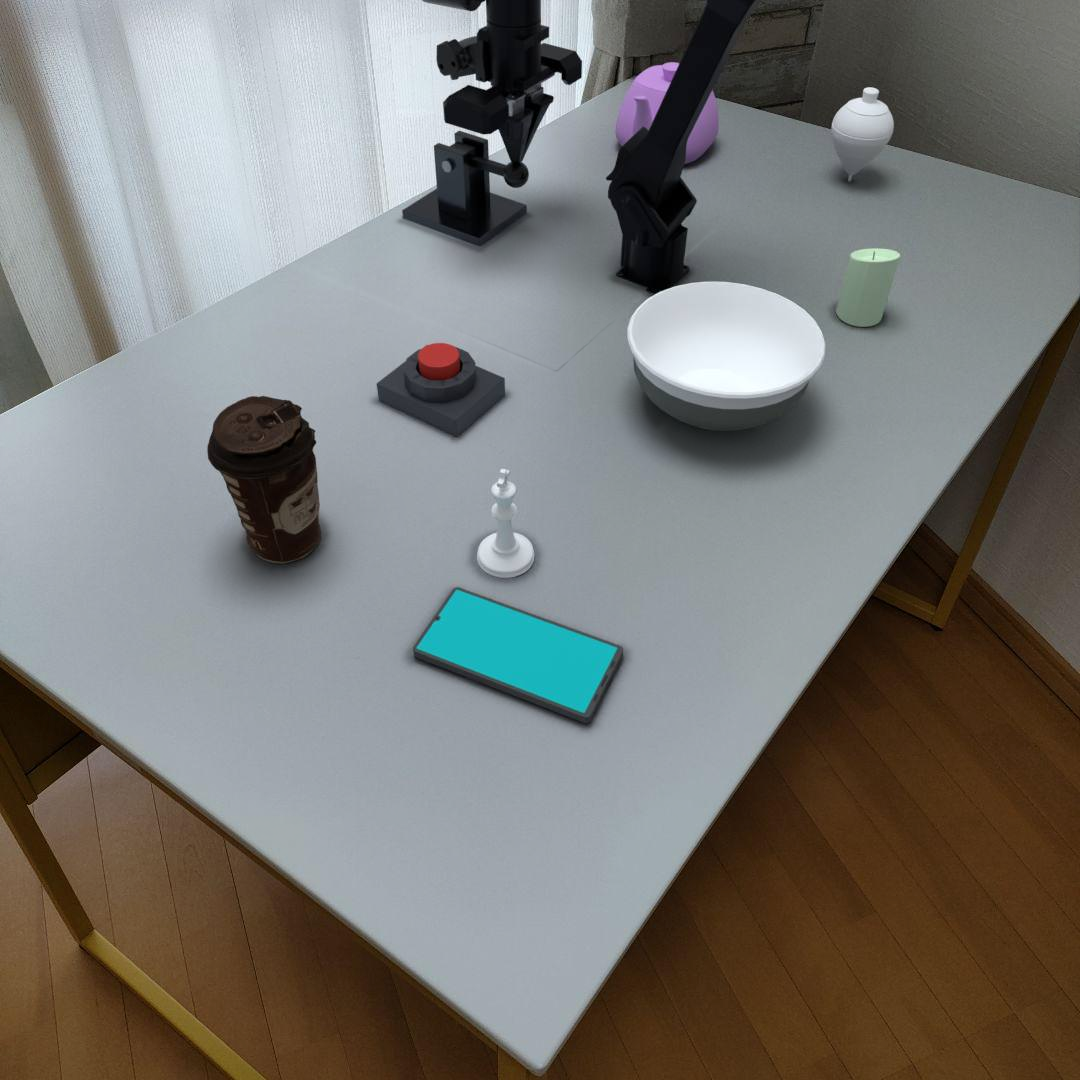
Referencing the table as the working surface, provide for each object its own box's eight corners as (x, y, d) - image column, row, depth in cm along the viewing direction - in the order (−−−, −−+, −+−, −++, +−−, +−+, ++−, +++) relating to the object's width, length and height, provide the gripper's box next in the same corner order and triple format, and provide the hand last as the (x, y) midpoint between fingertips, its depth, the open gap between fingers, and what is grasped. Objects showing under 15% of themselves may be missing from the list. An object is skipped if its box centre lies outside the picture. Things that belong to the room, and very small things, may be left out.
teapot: (586, 166, 135) (589, 83, 127) (651, 112, 147) (658, 32, 139) (676, 190, 130) (685, 105, 122) (735, 132, 142) (747, 51, 134)
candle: (827, 306, 112) (843, 240, 106) (866, 299, 113) (884, 233, 107) (850, 331, 109) (868, 264, 103) (890, 323, 110) (910, 256, 104)
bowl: (830, 460, 94) (851, 391, 88) (634, 469, 93) (641, 399, 87) (783, 344, 107) (798, 277, 101) (611, 350, 106) (616, 283, 100)
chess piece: (542, 543, 87) (542, 458, 79) (523, 584, 83) (521, 498, 76) (489, 530, 88) (485, 444, 80) (468, 569, 84) (462, 484, 77)
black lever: (534, 184, 118) (533, 160, 115) (519, 194, 116) (518, 170, 114) (461, 161, 122) (459, 137, 120) (445, 170, 120) (443, 146, 118)
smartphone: (588, 718, 73) (411, 649, 77) (588, 725, 74) (412, 656, 78) (625, 646, 78) (455, 585, 82) (624, 652, 78) (456, 591, 83)
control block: (505, 395, 101) (504, 363, 98) (457, 437, 96) (454, 405, 93) (428, 361, 105) (425, 329, 102) (378, 400, 100) (373, 368, 97)
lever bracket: (527, 215, 126) (526, 139, 119) (479, 249, 120) (476, 172, 113) (452, 189, 130) (447, 115, 123) (402, 221, 125) (394, 145, 118)
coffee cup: (347, 508, 89) (325, 393, 80) (325, 577, 84) (298, 462, 74) (253, 501, 90) (220, 386, 81) (224, 569, 84) (185, 454, 75)
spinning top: (834, 162, 136) (855, 72, 127) (887, 178, 133) (912, 86, 124) (810, 184, 132) (829, 92, 123) (864, 200, 129) (888, 107, 120)
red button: (468, 366, 98) (467, 351, 97) (443, 386, 96) (441, 372, 95) (436, 352, 100) (435, 337, 98) (411, 372, 97) (409, 357, 96)
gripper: (503, -22, 112) (506, 116, 124) (396, 29, 102) (411, 175, 113) (586, -2, 108) (582, 139, 119) (484, 53, 97) (490, 202, 109)
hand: (516, 162), depth 115 cm, fingers closed
